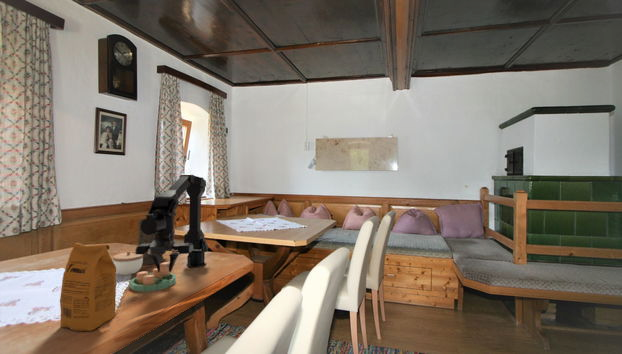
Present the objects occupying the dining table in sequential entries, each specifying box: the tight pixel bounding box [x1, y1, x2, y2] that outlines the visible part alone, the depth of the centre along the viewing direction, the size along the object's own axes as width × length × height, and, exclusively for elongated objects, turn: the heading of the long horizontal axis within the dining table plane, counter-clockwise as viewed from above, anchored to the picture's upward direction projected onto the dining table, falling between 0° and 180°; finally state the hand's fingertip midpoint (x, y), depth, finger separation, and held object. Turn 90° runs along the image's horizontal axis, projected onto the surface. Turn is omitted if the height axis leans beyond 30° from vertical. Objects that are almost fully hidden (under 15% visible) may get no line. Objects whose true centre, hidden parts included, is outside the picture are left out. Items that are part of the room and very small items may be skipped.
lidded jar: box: [112, 250, 144, 276], centre depth 125 cm, size 11×11×9 cm
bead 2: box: [143, 275, 155, 285], centre depth 109 cm, size 4×4×4 cm
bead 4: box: [160, 261, 171, 276], centre depth 113 cm, size 4×4×4 cm
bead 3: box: [152, 267, 163, 281], centre depth 117 cm, size 4×4×4 cm
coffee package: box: [59, 241, 117, 332], centre depth 85 cm, size 10×12×22 cm
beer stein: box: [137, 218, 164, 265], centre depth 146 cm, size 15×11×20 cm
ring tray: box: [129, 272, 177, 293], centre depth 113 cm, size 15×15×3 cm
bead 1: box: [136, 270, 149, 285], centre depth 112 cm, size 4×4×4 cm
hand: (165, 271), depth 113 cm, fingers closed on bead 4, 4 cm apart
